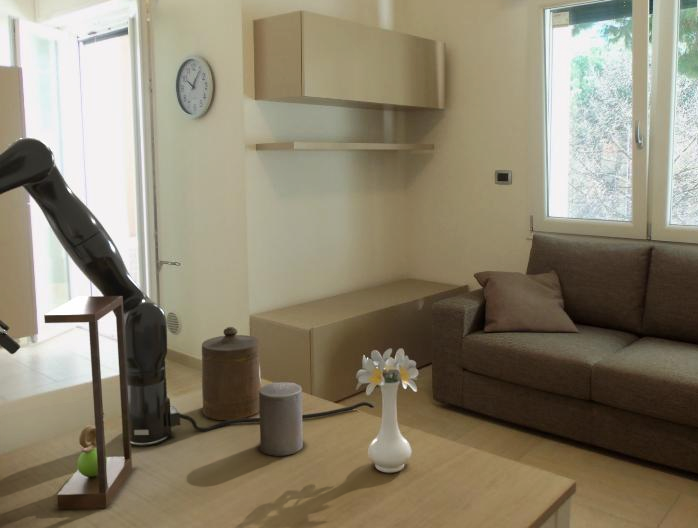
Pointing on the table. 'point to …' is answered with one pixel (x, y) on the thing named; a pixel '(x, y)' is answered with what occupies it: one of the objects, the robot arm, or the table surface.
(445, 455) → the table surface
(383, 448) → the flower vase
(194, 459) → the table surface
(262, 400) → the pillar candle
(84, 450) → the snail figurine
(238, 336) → the wooden container
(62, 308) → the shelf unit
